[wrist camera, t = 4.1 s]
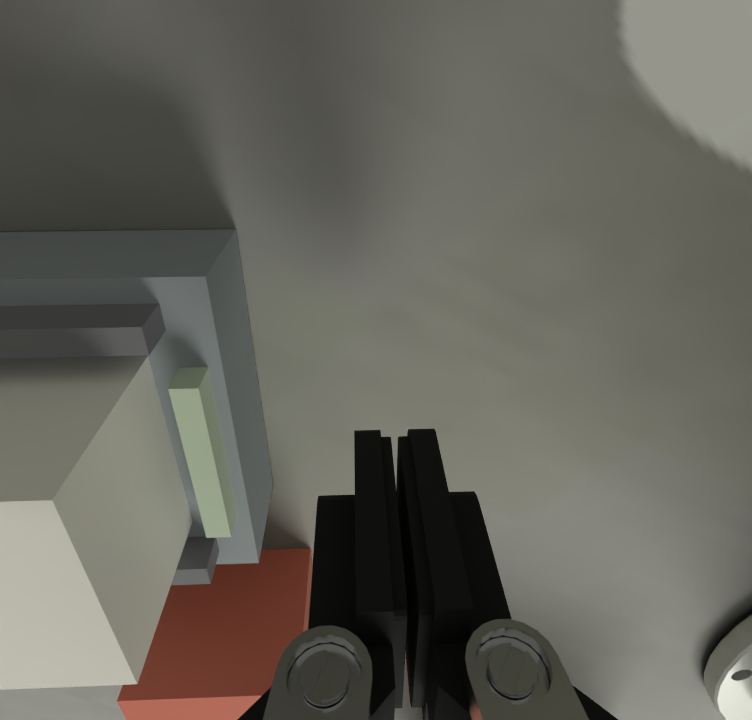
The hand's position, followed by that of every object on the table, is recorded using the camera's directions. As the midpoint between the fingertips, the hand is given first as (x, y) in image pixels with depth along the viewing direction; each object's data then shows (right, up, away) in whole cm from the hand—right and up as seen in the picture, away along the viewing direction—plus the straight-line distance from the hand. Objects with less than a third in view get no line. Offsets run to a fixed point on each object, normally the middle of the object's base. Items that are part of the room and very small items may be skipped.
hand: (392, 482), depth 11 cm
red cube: (-5, -6, +9) cm, 12 cm away
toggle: (-8, 0, +1) cm, 8 cm away
